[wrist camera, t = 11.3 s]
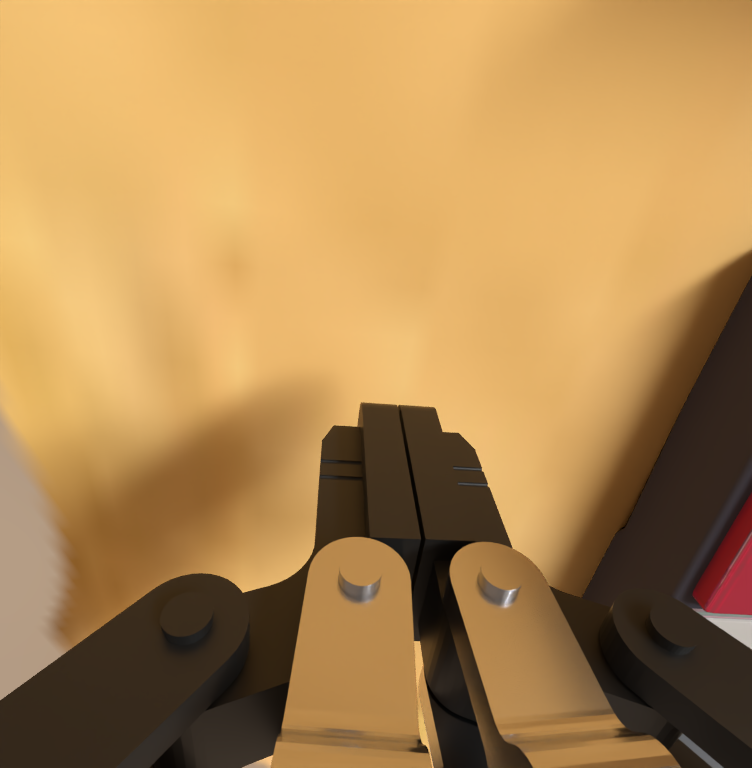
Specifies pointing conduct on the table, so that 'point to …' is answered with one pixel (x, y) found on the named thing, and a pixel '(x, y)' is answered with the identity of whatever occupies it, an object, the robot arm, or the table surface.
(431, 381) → the table surface
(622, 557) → the calculator
